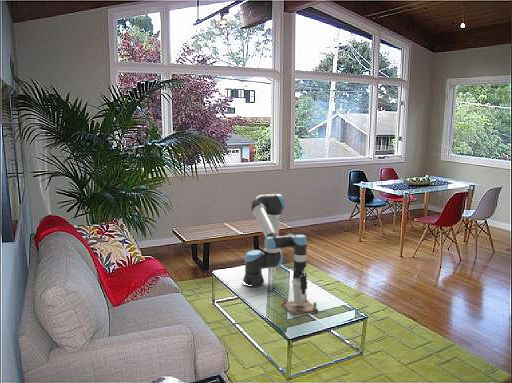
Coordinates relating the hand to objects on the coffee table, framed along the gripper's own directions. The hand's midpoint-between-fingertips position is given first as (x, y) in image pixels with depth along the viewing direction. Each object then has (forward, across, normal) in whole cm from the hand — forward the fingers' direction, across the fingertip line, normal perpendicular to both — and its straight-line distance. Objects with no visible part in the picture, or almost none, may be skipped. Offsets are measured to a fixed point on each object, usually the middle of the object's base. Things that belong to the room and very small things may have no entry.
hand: (299, 296), depth 261 cm
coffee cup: (+4, 0, 0) cm, 4 cm away
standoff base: (+8, 0, 0) cm, 8 cm away
